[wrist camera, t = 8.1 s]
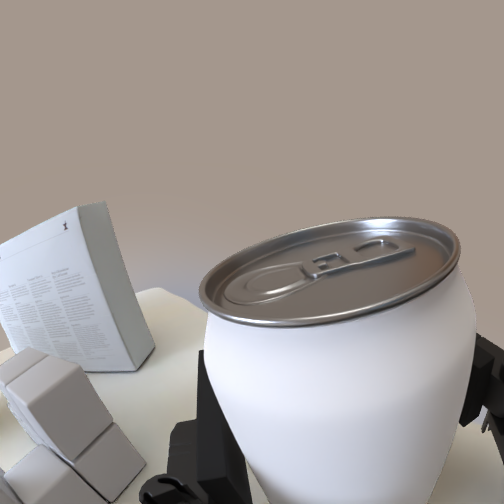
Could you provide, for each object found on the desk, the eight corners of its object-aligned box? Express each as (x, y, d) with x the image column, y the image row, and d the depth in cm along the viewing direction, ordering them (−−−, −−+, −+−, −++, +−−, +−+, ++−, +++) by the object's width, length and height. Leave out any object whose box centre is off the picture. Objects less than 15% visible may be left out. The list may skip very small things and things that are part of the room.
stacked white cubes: (58, 415, 19) (13, 339, 17) (148, 463, 14) (81, 363, 12) (-23, 484, 9) (-85, 406, 7) (39, 578, 4) (-78, 489, 2)
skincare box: (159, 343, 30) (108, 198, 26) (138, 373, 25) (73, 206, 21) (43, 350, 34) (1, 246, 30) (21, 369, 29) (-26, 258, 25)
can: (276, 472, 12) (196, 253, 9) (395, 434, 12) (386, 203, 9) (294, 576, 6) (137, 384, 3) (444, 523, 6) (546, 245, 3)
